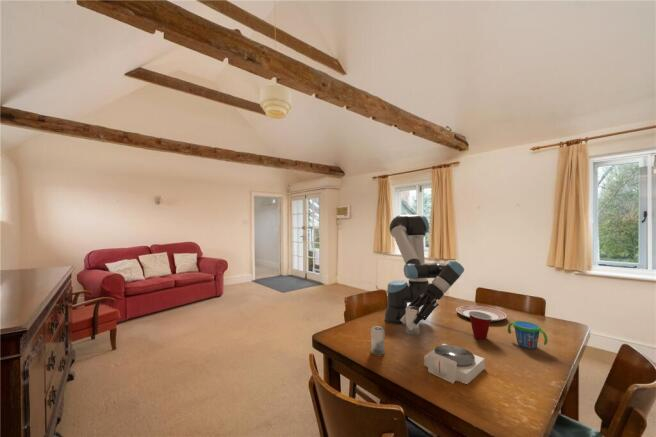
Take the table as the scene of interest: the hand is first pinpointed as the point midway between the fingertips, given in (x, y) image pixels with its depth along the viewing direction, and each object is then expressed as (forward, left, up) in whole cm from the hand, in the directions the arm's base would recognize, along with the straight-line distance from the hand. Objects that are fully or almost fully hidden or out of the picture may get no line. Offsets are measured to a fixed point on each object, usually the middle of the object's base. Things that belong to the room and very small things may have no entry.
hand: (405, 325), depth 121 cm
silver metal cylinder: (+2, +3, -3) cm, 5 cm away
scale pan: (+20, +4, -8) cm, 22 cm away
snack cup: (+34, +49, -12) cm, 61 cm away
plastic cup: (+16, +42, -12) cm, 47 cm away
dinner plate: (+4, +74, -13) cm, 76 cm away
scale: (+20, +3, -12) cm, 24 cm away
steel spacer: (-8, -11, -12) cm, 18 cm away
